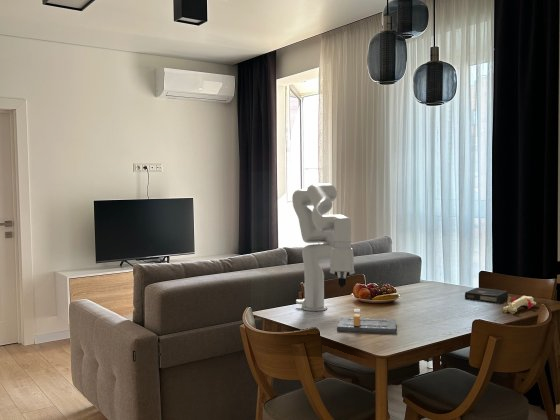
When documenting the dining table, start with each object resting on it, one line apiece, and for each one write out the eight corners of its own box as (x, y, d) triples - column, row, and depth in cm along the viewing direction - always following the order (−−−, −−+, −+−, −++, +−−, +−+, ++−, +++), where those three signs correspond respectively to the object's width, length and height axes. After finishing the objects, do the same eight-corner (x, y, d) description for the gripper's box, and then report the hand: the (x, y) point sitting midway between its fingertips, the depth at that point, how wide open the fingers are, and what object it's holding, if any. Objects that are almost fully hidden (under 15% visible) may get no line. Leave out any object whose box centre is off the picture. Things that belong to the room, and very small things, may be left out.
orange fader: (353, 325, 233) (353, 316, 233) (354, 323, 237) (354, 313, 237) (359, 326, 232) (359, 316, 232) (360, 323, 237) (360, 313, 237)
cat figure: (518, 318, 257) (540, 304, 274) (518, 299, 256) (540, 287, 273) (497, 314, 264) (520, 301, 281) (497, 296, 263) (519, 285, 281)
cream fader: (353, 320, 242) (353, 311, 242) (354, 317, 246) (354, 308, 246) (359, 320, 241) (359, 311, 241) (360, 318, 246) (360, 308, 246)
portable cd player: (464, 300, 292) (464, 292, 292) (477, 294, 305) (477, 287, 305) (496, 304, 282) (496, 296, 282) (507, 298, 295) (507, 291, 295)
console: (337, 331, 233) (337, 326, 233) (340, 321, 249) (340, 317, 249) (395, 333, 228) (395, 328, 228) (395, 323, 244) (395, 319, 244)
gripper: (324, 245, 240) (324, 288, 242) (359, 246, 238) (358, 289, 239) (326, 243, 248) (325, 284, 249) (360, 244, 245) (359, 285, 246)
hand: (342, 286), depth 244 cm, fingers closed
